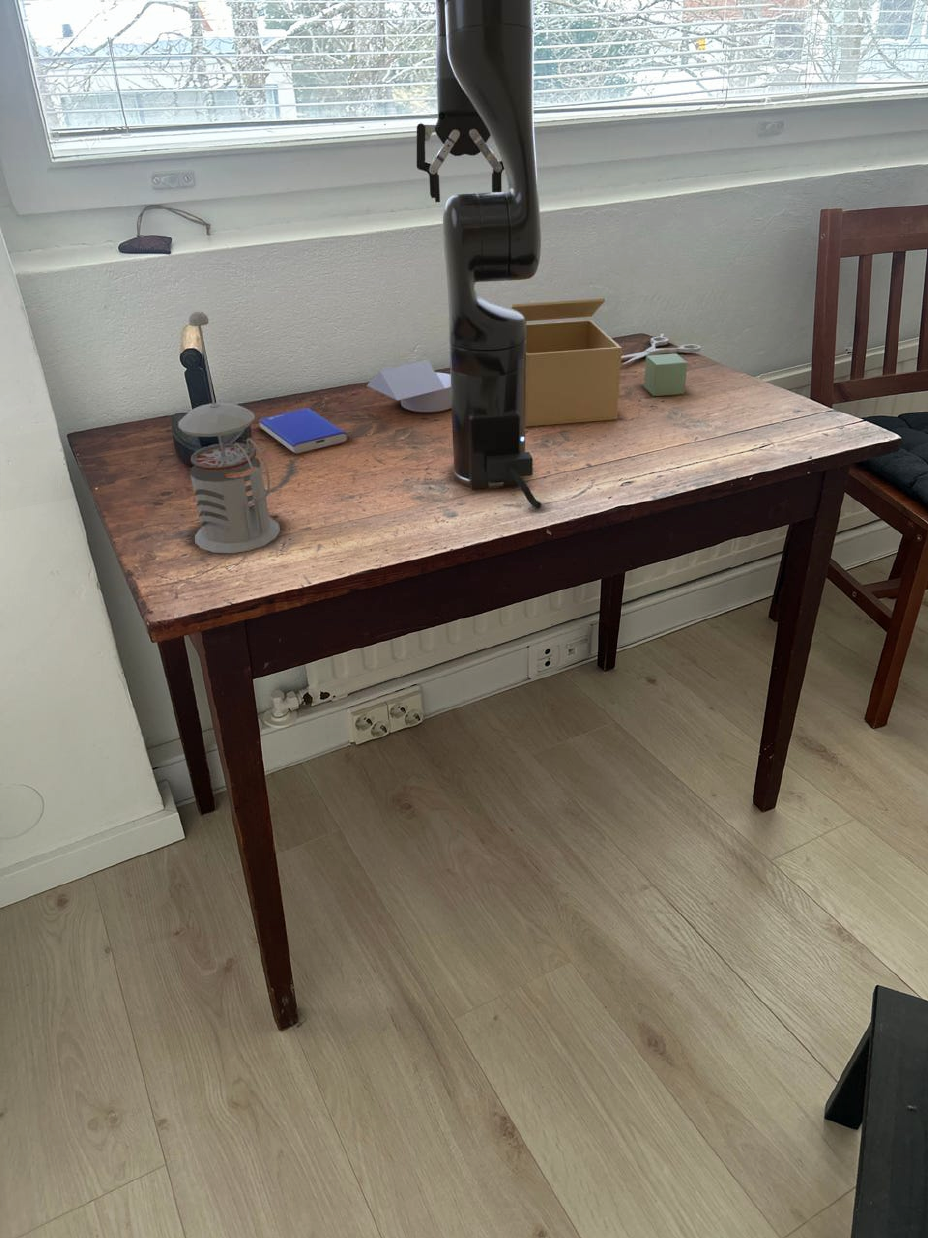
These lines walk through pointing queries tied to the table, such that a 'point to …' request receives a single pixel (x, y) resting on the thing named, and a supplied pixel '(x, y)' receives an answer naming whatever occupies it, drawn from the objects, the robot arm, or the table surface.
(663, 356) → the block
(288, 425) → the hard drive
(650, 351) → the scissors
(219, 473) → the french press
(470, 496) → the table surface
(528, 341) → the carton
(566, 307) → the flap
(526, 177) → the robot arm
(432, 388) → the wedge on round base
